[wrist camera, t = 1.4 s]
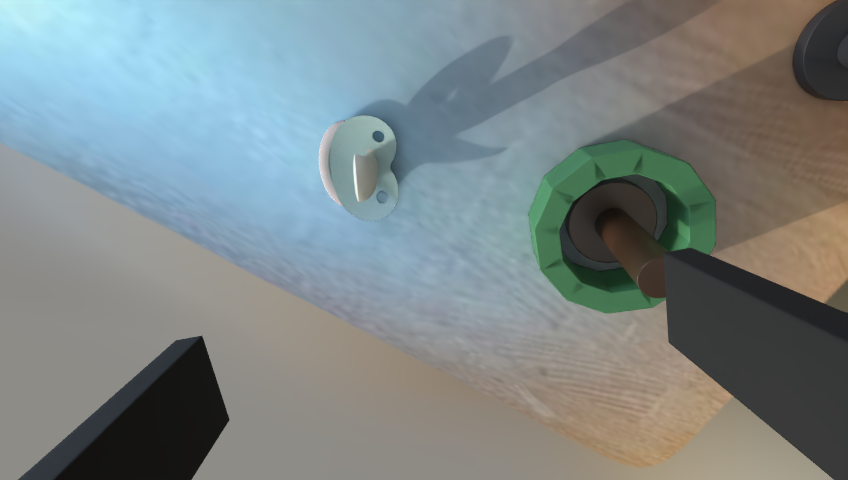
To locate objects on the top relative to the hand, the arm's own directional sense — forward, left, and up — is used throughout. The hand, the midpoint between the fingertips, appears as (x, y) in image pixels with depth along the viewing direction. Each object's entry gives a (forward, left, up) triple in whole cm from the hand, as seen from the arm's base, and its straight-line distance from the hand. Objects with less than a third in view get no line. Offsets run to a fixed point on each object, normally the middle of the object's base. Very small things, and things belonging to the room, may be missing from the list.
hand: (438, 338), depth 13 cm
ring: (-6, +10, -22) cm, 24 cm away
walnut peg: (-6, +10, -22) cm, 24 cm away
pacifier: (+5, -5, -22) cm, 23 cm away
